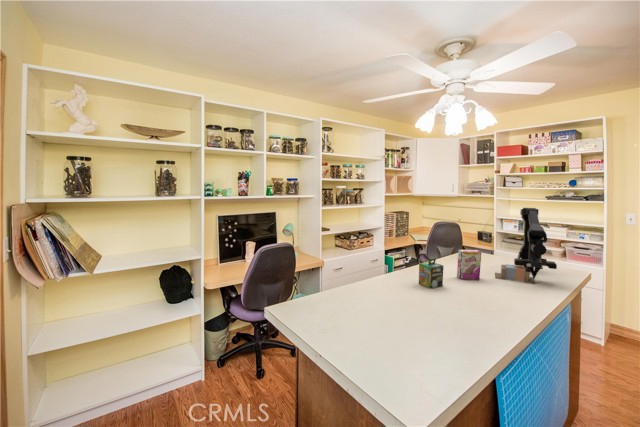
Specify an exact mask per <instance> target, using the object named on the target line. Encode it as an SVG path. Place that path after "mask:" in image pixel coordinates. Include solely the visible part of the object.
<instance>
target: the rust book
mask: <svg viewBox="0 0 640 427" xmlns="http://www.w3.org/2000/svg"><path fill="white" fill-rule="evenodd" d="M514 265H515V264H514ZM515 268H516V270H515V280H514V281H515V282H516V281H517V282H522V283H525V282H524V281H525V267H524V266H520V265H515Z"/></svg>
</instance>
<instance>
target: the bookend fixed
mask: <svg viewBox="0 0 640 427" xmlns="http://www.w3.org/2000/svg"><path fill="white" fill-rule="evenodd" d="M505 265H506V264H501V265H500V266H501V268H500V272H494V279H499V280H507V279H506V266H505Z"/></svg>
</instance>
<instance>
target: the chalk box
mask: <svg viewBox="0 0 640 427" xmlns="http://www.w3.org/2000/svg"><path fill="white" fill-rule="evenodd" d="M436 261H437V258H430V259H429V260H428V261H425V262H421V263H419V265H418V284H419V285H422V286H424V287H427V288H428V289H435V288H439V287H443V286H444V285H443V283H444V264H439V263H437V262H436Z"/></svg>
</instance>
